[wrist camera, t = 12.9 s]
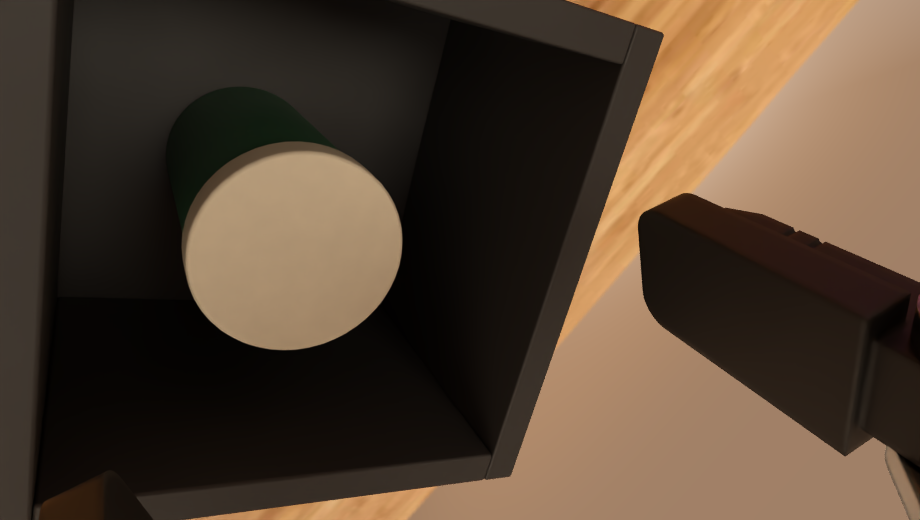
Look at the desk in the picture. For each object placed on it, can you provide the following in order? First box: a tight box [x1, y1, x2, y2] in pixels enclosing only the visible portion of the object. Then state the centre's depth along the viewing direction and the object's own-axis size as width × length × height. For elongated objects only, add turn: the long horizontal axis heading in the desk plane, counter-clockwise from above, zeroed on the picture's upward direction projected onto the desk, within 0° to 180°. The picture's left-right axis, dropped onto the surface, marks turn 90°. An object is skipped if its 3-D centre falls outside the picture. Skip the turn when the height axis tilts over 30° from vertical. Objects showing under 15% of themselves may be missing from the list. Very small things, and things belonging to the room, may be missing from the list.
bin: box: [0, 0, 664, 520], centre depth 15 cm, size 11×11×9 cm
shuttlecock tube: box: [166, 87, 402, 350], centre depth 15 cm, size 4×4×7 cm
